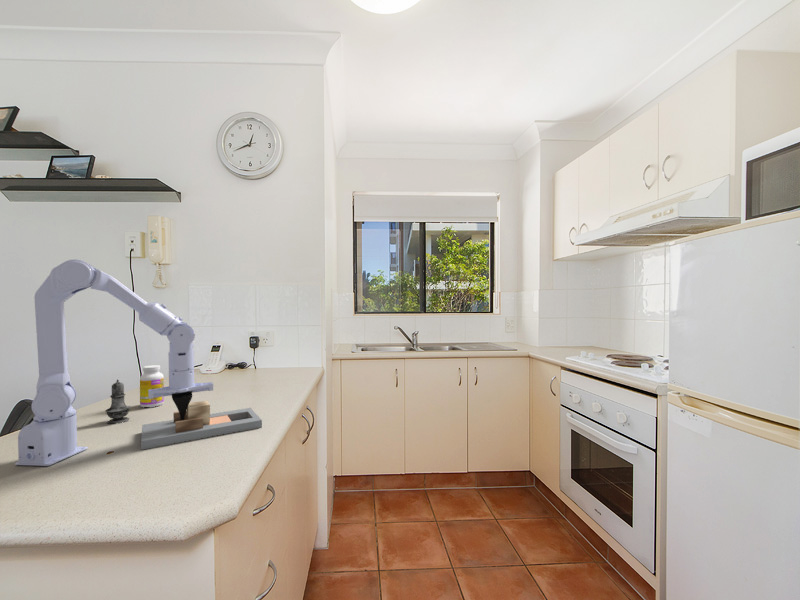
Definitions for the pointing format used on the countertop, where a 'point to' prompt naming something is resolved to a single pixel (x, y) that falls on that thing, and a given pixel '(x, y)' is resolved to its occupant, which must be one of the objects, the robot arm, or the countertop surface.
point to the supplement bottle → (151, 386)
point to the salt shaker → (117, 405)
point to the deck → (167, 435)
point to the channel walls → (187, 423)
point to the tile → (219, 420)
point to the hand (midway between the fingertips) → (182, 421)
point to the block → (199, 411)
